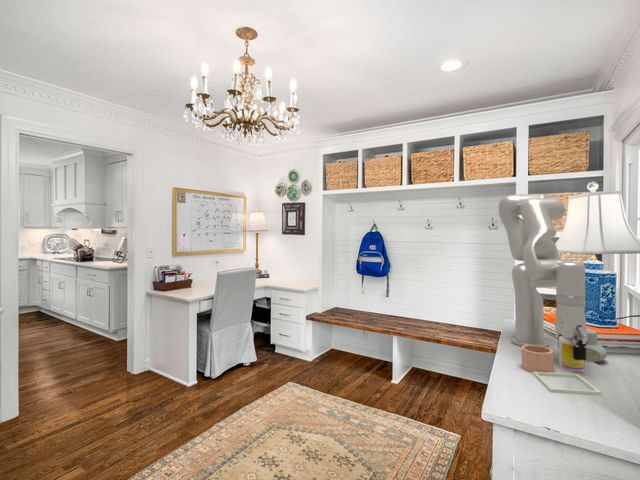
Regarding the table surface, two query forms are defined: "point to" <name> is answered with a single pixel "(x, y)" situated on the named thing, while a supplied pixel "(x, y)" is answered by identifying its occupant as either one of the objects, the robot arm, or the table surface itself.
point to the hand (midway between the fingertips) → (571, 354)
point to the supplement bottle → (568, 355)
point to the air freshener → (594, 348)
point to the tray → (589, 392)
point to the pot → (537, 358)
